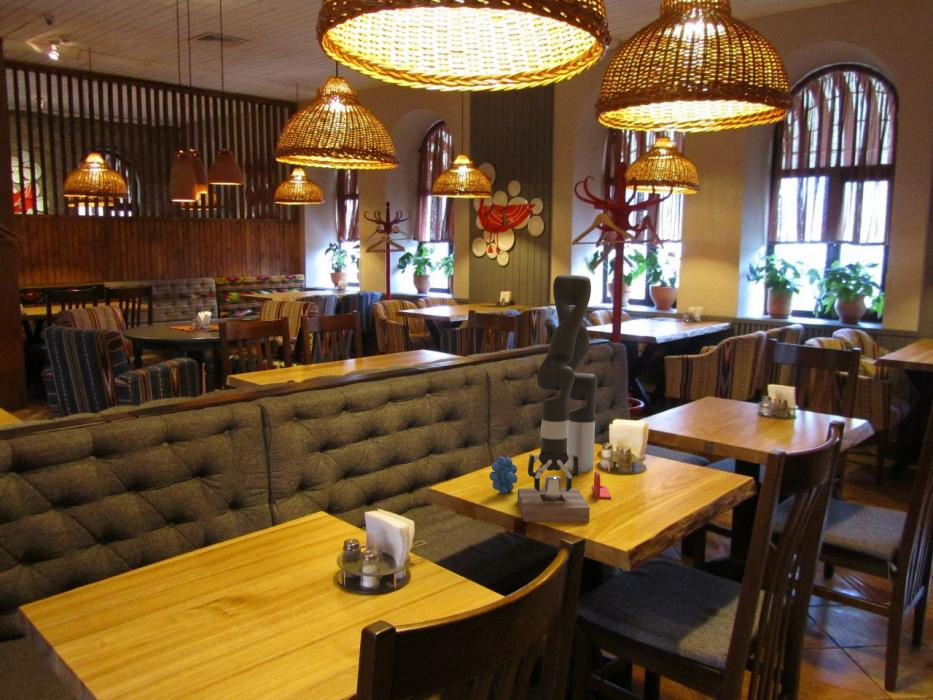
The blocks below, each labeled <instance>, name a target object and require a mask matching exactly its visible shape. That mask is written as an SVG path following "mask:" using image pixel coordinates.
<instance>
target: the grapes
mask: <svg viewBox="0 0 933 700" xmlns="http://www.w3.org/2000/svg"><path fill="white" fill-rule="evenodd" d="M513 461H514V460H513V459H512V458H511V457H508V456H507V457H504V456H499V457H497V460H496V461H494V462H492V464H491V470H492V471H491V472H490V473H489V475H488V476H489V479H490V481H492V484H491V486H492V489H493V490H495V491H498V492H499V493H500V494H501V495H505V494H506V493H507V492H512V491H513V490H514V484H516V483H518V480H519V478H518V476H517V475H516V473H517V472H518V467H517V465H515V464H513V463H514V462H513Z"/></svg>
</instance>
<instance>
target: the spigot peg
mask: <svg viewBox="0 0 933 700" xmlns="http://www.w3.org/2000/svg"><path fill="white" fill-rule="evenodd" d="M544 488H545V501H560V496H561V489H562V477H561V476H559V475H554V474H553V475H552V474H551V475H550V474H549V475H546V476H545V477H544Z"/></svg>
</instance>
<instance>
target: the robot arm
mask: <svg viewBox="0 0 933 700" xmlns="http://www.w3.org/2000/svg"><path fill="white" fill-rule="evenodd" d="M591 293H592V282H591V279H590V277H588V276H585V275H581V274H580V275H577V274H573V275H572V274H559V275H557V276H556V277H555V278H554V280H553V285H552V295H553V300H554V306H555V309H556V315H557V320H558V321H557V322H558V325H557V326H556V328H555V329H554V331H553V332H552V336H551V339H550V342H549V343H550V344H549V349H548V352H547V354H546V356H545V357H544V360H543V361H542V362H541V365H540V366H539V368H538V370H537V374H536V384H537V386H538V387H539V388H540V389H541V390H546V391H559V395H558V396H554V397H548V398H545V399H544V400H542V407H541V408H542V410H541V411H542V412H541V413H542V414H541V415H542V417H541V418H542V419H541V424H540V425H541V426H540V453H539V454H538V455H537V454H536V455H535V454H532V453H530V454H528V464H527V465H528V468H527V474H528V476H529V477H531V478H534V479H533V488H535V489H536V490H537V491H540V488H541V479H540V478H541V476H542V474H544V472H546V471H549V472H550V471H556V472H557V471H558V472H559V471H561V470H562V471H563V473H564V474H565V475H566V476H565V489H566V491H569V489H573V488H572V486H573V485H572V484H573V483H572V481H573V478H575V477H578V476H579V473H589V472H588V471H590V472H592V471H591V470H594V461H595V459H594V458H595V455H594V454H595V435H596V434H595V431H596V429H595V428H596V427H595V426H596V405H597V403H596V400H597V389H598V378H597V375H596V374H594V373H584V372H575V371H576V369H577V367H578V366H579V364H581V363H582V362H583V360H584V359H585V358H586V357H587V355H588V353H589V350H590V337H589V336H590V335H589V331H588V329H587V327H586V325H585V323H583V320H584V318H585V314H586V312H587V309H588V307H589V303H590V300H591V295H592V294H591ZM571 306H573V307H574V308H573V309H571ZM569 400H573V401H585V403H584V405H582V406H580V407H577V408H573V409H570V410H569V411H568V407H569V406H568V405H569ZM537 461H539V462H540V465H538V467H537V469H536V471H534V467H535V466H534V465H535V463H537ZM569 470H570V471H569Z"/></svg>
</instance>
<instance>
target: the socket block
mask: <svg viewBox="0 0 933 700" xmlns="http://www.w3.org/2000/svg"><path fill="white" fill-rule="evenodd" d="M583 496H584V495H583V494H582V493H581V492H580V489H578V488H571V489H569V491H566V488H561V496H560V501H545V487H544V488H541V487H540V491H537V490H536V489H535V487H533V488H528V487H527V488H525V487H523V488H521V487H518V488H517V503H518V507H519V510H520V513H521V515H522V519H523V521H524V522H525V523H526V522H528V523H529V522H533V523H535V522H537V523H538V522H540V523H543V522H544V523H545V522H547V523H548V522H549V523H550V522H551V523H553V522H554V523H555V522H560V523H561V522H562V523H563V522H564V523H566V522H567V523H570V522H571V523H572V522H575V523H576V522H578V523H580V522H581V523H585V522H587V523H588V522H590V509H591V507H590V506H589V504H588V503H587V501H586V499H585V498H584V497H583Z"/></svg>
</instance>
